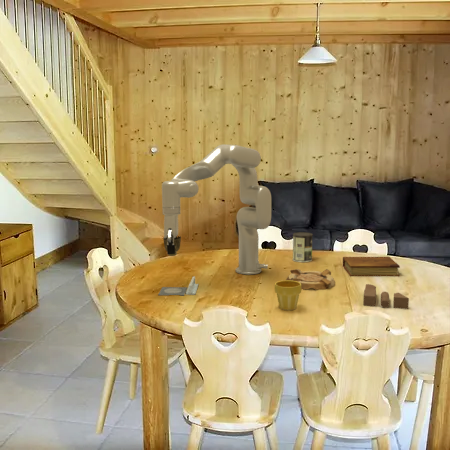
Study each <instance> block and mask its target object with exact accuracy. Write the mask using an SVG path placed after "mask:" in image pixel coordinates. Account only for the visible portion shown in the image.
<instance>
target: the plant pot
mask: <svg viewBox="0 0 450 450" xmlns="http://www.w3.org/2000/svg"><path fill="white" fill-rule="evenodd" d="M274 293H275V294H276V297H277V301H278V307H279V309H281V310H284V311H293V310H296V309H297V308H298V307H297V306H298V302H299V297H300V295H301V293H302V289H301V283H300V282H297V281H291V280H279V281H276V282H275V283H274Z"/></svg>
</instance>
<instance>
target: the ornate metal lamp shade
mask: <svg viewBox="0 0 450 450" xmlns="http://www.w3.org/2000/svg"><path fill="white" fill-rule="evenodd" d="M167 238H168V236H167ZM167 238H164V237H162V239H163V246H164V249H165V251H166V252H167ZM171 238H173V237H171ZM171 240H173V239H171ZM181 240H182V237H181V235H180V236H178V235H177V237H176V238H174V245H175V254H167V255H168V256H170V257H174V256H177V254H178V253H177V252H179V250H180V248H181Z"/></svg>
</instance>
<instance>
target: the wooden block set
mask: <svg viewBox="0 0 450 450" xmlns="http://www.w3.org/2000/svg"><path fill="white" fill-rule="evenodd" d="M409 300H410V298H409V297H408V296H406V295H404V294H402V293H401V292H396V293H395V292H394V293H393V303H392V304H393V305H392V308H393V309H404V310H409V302H410V301H409ZM376 303H377V286H376V285H373V284H371V283H370V284H369V283H367V284H365V289H364V292H363V304H362V305H363V306H364V307H365V306H366V307H376ZM389 306H390V294H389V292H387V291H382V292H381V294H380V307H382V308H383V309H387V308H388V307H389Z"/></svg>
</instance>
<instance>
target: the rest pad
mask: <svg viewBox="0 0 450 450" xmlns="http://www.w3.org/2000/svg"><path fill="white" fill-rule="evenodd" d="M187 289H188V287H186V286H185V287H182V286H180V287H179V286H173V287H172V286H162V287H161V289H160V291H159V293H158V294H157V295H158V296H169V295H180V296H183V297H184V296H185V295H186V291H187Z"/></svg>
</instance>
